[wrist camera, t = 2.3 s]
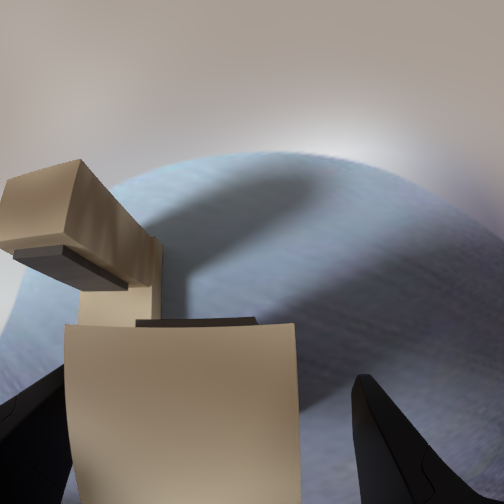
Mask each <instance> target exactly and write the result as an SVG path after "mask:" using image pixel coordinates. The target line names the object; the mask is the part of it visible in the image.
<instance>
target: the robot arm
mask: <svg viewBox="0 0 504 504" xmlns="http://www.w3.org/2000/svg"><path fill="white" fill-rule="evenodd" d="M351 401H352V429H353V441H354V448H355V455H356V462H357V470H358V478H359V486H360V495H361V504H504V502H503V501H498V500H493V499H489V498H486V497H483V496H481V495H480V494H478V493H476V492H475V491H474V490H473V489H472V488H471V487H469V486H468V485H467V484H466V483H465V482H464V481H463V480H462V479H461V478H460V477H459V476H458V475H457V474H456V473H454V472H453V471H452V470H451V469H450V468H449V467H448V466H447V465H446V464H445V463H444V462H443V460H442V459H441V458H440V457H439V456H438V455H437V454H436V452H435V451H434V450H433V449H432V448H431V446H430V445H428V443H427V442H426V440H425V439H424V438H423V437H422V436H421V434H420V433H419V432H418V431H417V430H416V428H415V427H414V426H413V425H412V424H411V422H410V421H409V420H408V419H407V418H406V416H405V415H404V414H403V413H402V412H401V410H400V409H399V408H398V407H397V406H396V404H395V403H394V402H393V401H392V400H391V398H390V397H389V396H388V395H387V394H386V392H385V391H384V390H383V389H382V388H381V386H380V385H379V384H378V383H377V382H376V381H375V379H374V378H373V377H372V376H371V375H370V374H359V375H358V376H357V377H356V380H355V383H354V385H353V388H352V392H351ZM72 465H73V460H72V454H71V447H70V440H69V432H68V422H67V412H66V398H65V377H64V364H63V365H61V366H60V367H58V368H57V369H55V370H54V371H52V372H51V373H49V374H48V375H46V376H45V377H43V378H42V379H40V380H39V381H37V382H36V383H34V384H33V385H31V386H29V387H28V388H26V389H25V390H23V391H22V392H20V393H19V394H18V395H16V396H14V397H13V398H11V399H10V400H8V401H6V402H5V403H3V404H2V405H0V504H61V501H62V497H63V494H64V490H65V487H66V483H67V480H68V477H69V474H70V471H71V468H72Z"/></svg>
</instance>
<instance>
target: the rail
mask: <svg viewBox="0 0 504 504" xmlns="http://www.w3.org/2000/svg"><path fill="white" fill-rule="evenodd" d="M0 249H2V250H4V251H6V252H8V253H10V254H11V255H13V259H14V260H16V261H18V262H20V263H22V264H24V265H26V266H28V267H30V268H32V269H34V270H36V271H39V272H41V273H43V274H45V275H47V276H49V277H51V278H54V279H56V280H58V281H60V282H63V283H65V284H67V285H69V286H72V287H74V288H76V289H79V290H80V299H79V315H78V325H86V326H108V327H135V319H161V281H162V258H163V245H162V244H161V243H160V242H159V241H158V240H157V239H156V238H155V237H150V236H149V235H148V233H147V232H146V231H145V230H144V229H143V228H142V227H141V226H140V225H139V224H138V223H137V222H136V221H135V220H134V218H133V217H132V216H131V215H130V214H129V213H128V212H127V211H126V210H125V209H124V208H123V206H122V205H121V204H120V203H119V202H118V201H117V200H116V199H115V198H114V196H113V195H112V194H111V193H110V192H109V191H108V190H107V189H106V187H104V185H103V184H102V183H101V182H100V181H99V180H98V178H97V177H96V176H95V175H94V174H93V173H92V171H91V170H90V169H89V168H88V167H87V166H86V164H85V163H84V162H83V161H82V160H81V159H79V160H74V161H70V162H66V163H62V164H59V165H55V166H51V167H48V168H44V169H41V170H38V171H34V172H31V173H28V174H24V175H21V176H18V177H15V178H12V179H9V180H7V183H6V186H5V189H4V192H3V195H2V198H1V202H0Z"/></svg>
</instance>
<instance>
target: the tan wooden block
mask: <svg viewBox="0 0 504 504" xmlns="http://www.w3.org/2000/svg"><path fill="white" fill-rule="evenodd" d="M64 377H65V398H66V412H67V422H68V432H69V440H70V447H71V454H72V460H73V466H74V472H75V477H76V482H77V487H78V491H79V496H80V500H81V504H301V470H300V429H299V401H298V379H297V360H296V342H295V326H294V323H288V324H272V325H258V323H257V321H256V318H255V317H239V318H211V319H135V327H108V326H86V325H69V324H65V334H64Z"/></svg>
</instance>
